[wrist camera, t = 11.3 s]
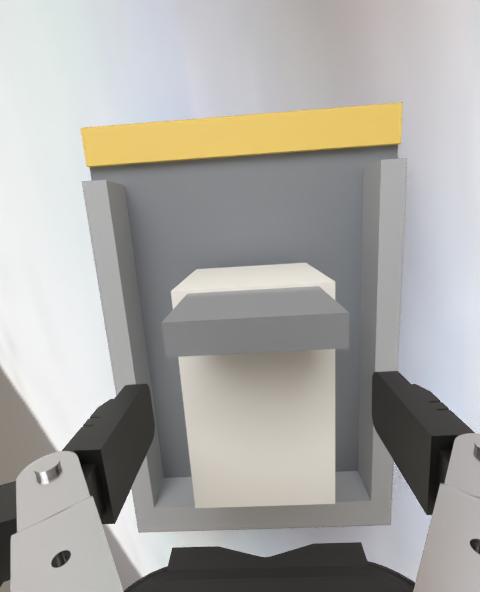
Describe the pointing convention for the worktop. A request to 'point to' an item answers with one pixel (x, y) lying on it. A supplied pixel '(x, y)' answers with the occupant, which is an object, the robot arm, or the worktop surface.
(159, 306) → the dock
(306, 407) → the tall white box
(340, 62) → the worktop surface
